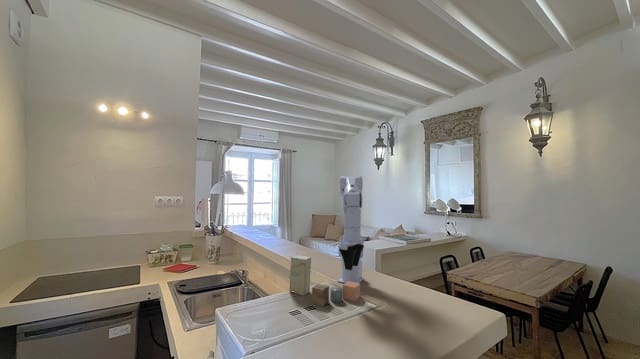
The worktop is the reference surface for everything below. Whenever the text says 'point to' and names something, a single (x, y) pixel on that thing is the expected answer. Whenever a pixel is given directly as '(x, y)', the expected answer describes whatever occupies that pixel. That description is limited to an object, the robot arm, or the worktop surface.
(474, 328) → the worktop surface
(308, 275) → the skincare box
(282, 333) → the worktop surface
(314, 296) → the walnut block
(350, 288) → the terracotta cube
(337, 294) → the blue-grey short cylinder
